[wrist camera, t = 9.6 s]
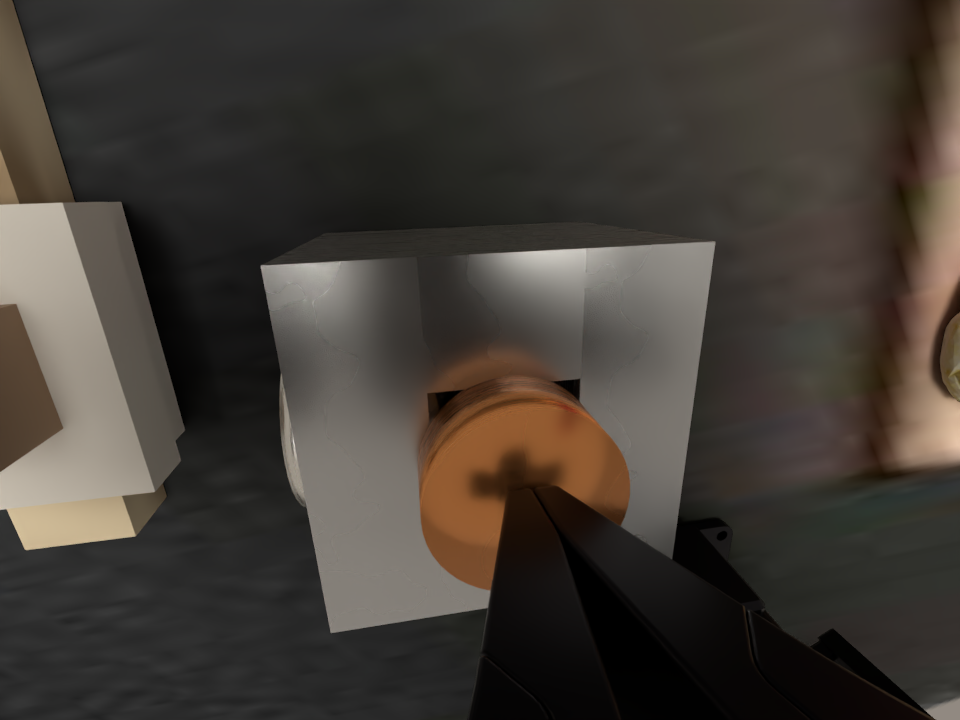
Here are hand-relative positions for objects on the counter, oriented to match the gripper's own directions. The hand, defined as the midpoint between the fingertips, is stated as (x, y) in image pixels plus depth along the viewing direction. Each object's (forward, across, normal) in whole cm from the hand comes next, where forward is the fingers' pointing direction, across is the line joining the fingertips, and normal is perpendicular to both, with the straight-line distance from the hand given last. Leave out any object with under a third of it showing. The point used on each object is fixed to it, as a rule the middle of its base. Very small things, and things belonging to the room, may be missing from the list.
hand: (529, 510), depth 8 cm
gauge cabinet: (+9, 0, 0) cm, 9 cm away
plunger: (+6, 0, 0) cm, 6 cm away
